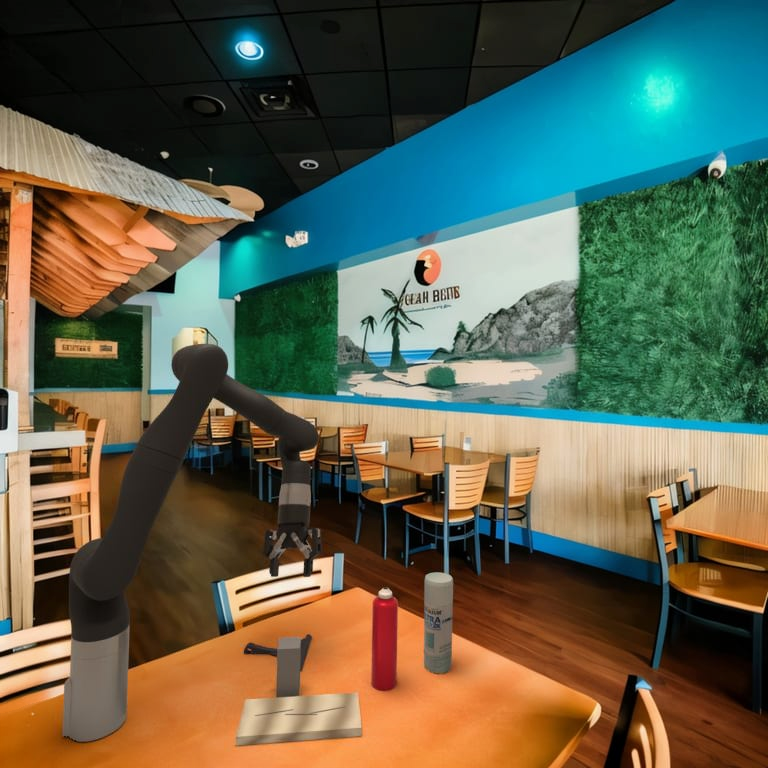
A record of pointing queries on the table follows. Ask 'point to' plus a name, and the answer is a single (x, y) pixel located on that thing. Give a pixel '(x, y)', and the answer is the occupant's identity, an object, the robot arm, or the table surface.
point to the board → (299, 718)
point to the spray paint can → (438, 622)
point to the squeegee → (273, 651)
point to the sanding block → (288, 667)
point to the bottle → (384, 641)
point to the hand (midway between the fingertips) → (290, 576)
